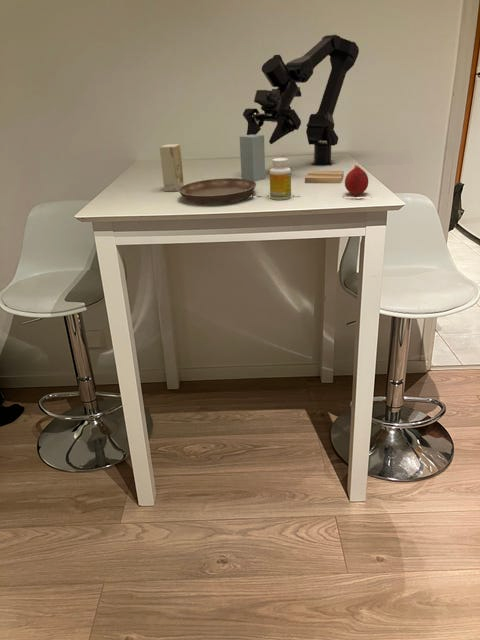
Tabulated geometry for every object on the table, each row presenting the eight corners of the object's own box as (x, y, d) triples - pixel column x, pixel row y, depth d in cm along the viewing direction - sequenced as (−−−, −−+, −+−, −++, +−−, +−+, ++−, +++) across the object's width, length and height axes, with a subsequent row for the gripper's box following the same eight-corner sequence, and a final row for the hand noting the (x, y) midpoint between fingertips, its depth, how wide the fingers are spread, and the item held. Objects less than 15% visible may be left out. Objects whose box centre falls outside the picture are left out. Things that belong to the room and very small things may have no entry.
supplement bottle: (289, 200, 133) (289, 160, 128) (268, 200, 134) (267, 161, 129) (292, 195, 137) (292, 157, 133) (271, 195, 138) (271, 157, 134)
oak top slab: (309, 176, 156) (309, 171, 155) (343, 176, 153) (343, 171, 153) (304, 183, 147) (304, 177, 147) (340, 183, 145) (340, 178, 144)
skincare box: (178, 191, 148) (174, 146, 143) (163, 191, 149) (158, 147, 144) (184, 186, 154) (180, 143, 149) (170, 186, 155) (166, 143, 149)
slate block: (253, 179, 159) (251, 134, 153) (265, 181, 156) (264, 135, 150) (241, 182, 156) (239, 136, 150) (253, 184, 153) (252, 137, 147)
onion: (367, 194, 134) (369, 162, 131) (367, 199, 129) (369, 166, 126) (344, 194, 136) (345, 162, 132) (343, 199, 131) (345, 166, 127)
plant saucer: (173, 209, 131) (172, 196, 130) (185, 191, 150) (184, 179, 148) (255, 206, 130) (255, 192, 129) (257, 188, 149) (256, 176, 147)
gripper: (245, 79, 155) (221, 122, 153) (294, 77, 143) (269, 124, 141) (264, 105, 163) (240, 147, 161) (312, 106, 151) (287, 151, 149)
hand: (258, 142), depth 153 cm, fingers open, 9 cm apart
